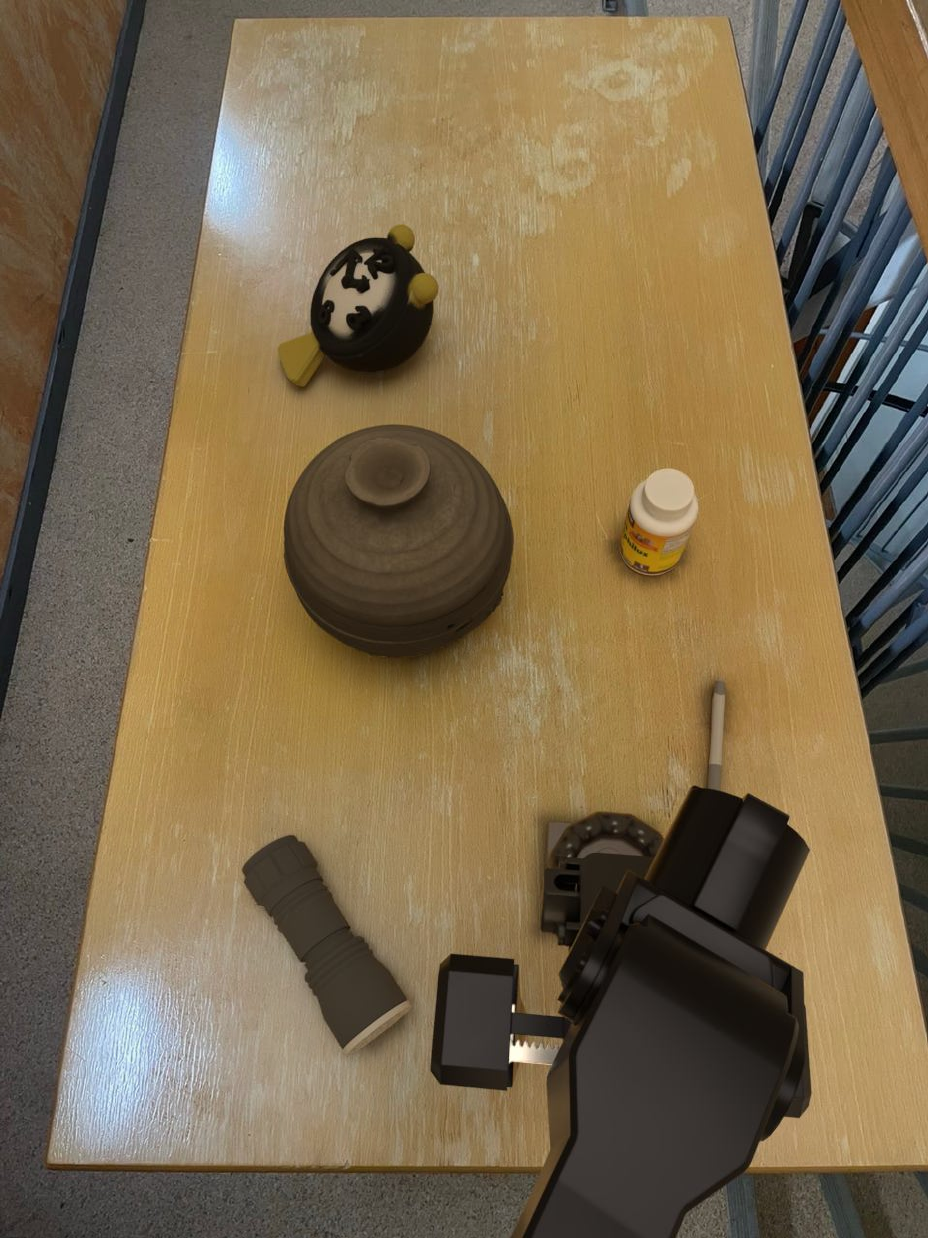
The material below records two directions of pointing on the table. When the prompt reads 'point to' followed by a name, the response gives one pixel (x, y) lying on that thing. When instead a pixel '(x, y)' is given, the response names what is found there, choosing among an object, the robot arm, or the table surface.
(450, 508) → the pot
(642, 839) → the studded brown bangle
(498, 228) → the table surface
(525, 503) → the table surface
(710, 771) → the pen
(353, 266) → the alarm clock
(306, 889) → the flashlight
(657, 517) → the supplement bottle
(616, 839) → the rack
